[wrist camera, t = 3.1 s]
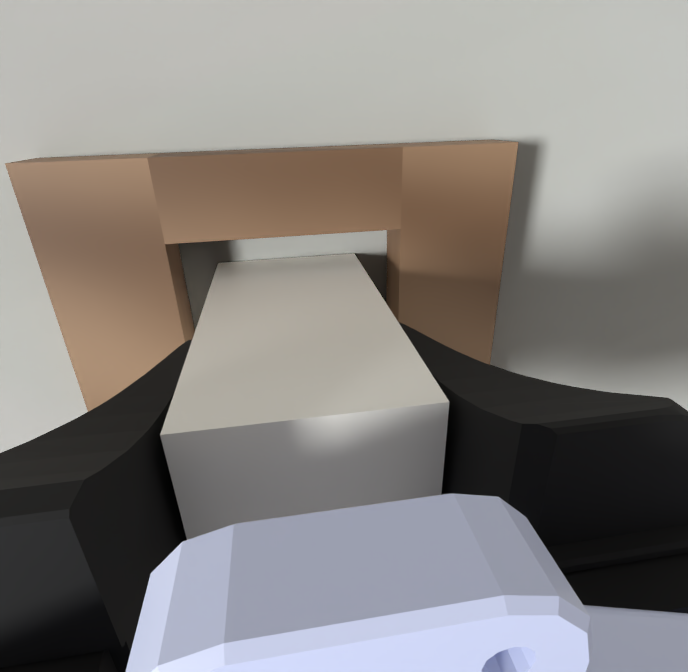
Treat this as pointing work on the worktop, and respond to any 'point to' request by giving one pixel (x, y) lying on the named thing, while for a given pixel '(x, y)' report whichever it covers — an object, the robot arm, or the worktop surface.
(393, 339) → the plug
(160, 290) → the socket panel
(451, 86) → the worktop surface
